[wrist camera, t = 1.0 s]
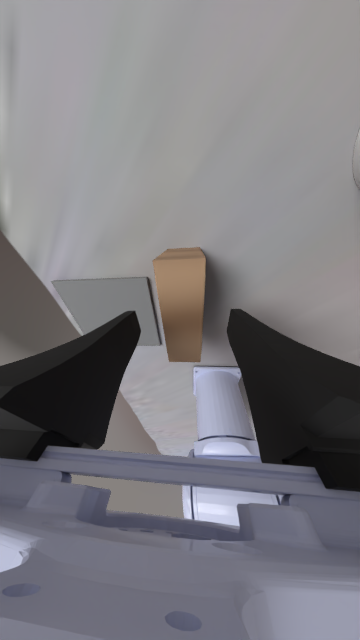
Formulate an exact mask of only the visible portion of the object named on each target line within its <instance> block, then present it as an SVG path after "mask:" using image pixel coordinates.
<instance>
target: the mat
mask: <svg viewBox="0 0 360 640" xmlns="http://www.w3.org/2000/svg"><path fill="white" fill-rule="evenodd" d="M51 282H52V284H53V286H54V287H55V289H56V290H57V292H58V294H59V295H60V297H61V298H62V300H63V302H64V303H65V305H66V306H67V308H68V310H69V311H70V313H71V314H72V316H73V317H74V319H75V321H76V322H77V324H78V325H79V327H80V329H81V330H82V332H83V333H84V335H85V334H87V333H89V332H91V331H93V330H95V329H96V328H98V327H100V326H102V325H104V324H105V323H107V322H109V321H110V320H112V319H114V318H115V317H117V316H119V315H120V314H122V313H124V312H126V311H136V315H137V318H138V321H139V325H140V328H141V334H140V338H139V341H138V344H137V346H160V339H159V334H158V329H157V324H156V318H155V313H154V308H153V303H152V298H151V293H150V288H149V283H148V278H147V277H132V278H107V279H81V280H55V281H51Z"/></svg>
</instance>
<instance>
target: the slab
mask: <svg viewBox="0 0 360 640" xmlns="http://www.w3.org/2000/svg"><path fill="white" fill-rule="evenodd" d="M205 264H206V258H205V256H204V254H203V252H202V251H201V249H200V247H196V248H179V249H167V250H166V251H165V252H163V253H162V254H161V255H159V256H158V257H157V258H156V259H154V260H153V266H154V272H155V280H156V286H157V292H158V299H159V305H160V311H161V317H162V323H163V329H164V335H165V341H166V347H167V353H168V358H169V362H200V360H201V350H202V331H203V313H204V295H205V277H206V276H205Z"/></svg>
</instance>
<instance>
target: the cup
mask: <svg viewBox="0 0 360 640" xmlns="http://www.w3.org/2000/svg"><path fill="white" fill-rule="evenodd" d="M353 175H354V179H355V182H356V184H357V186H358V188H359V189H360V129H359V132H358V136H357V139H356V143H355V148H354V154H353Z"/></svg>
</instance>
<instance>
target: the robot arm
mask: <svg viewBox="0 0 360 640" xmlns="http://www.w3.org/2000/svg"><path fill="white" fill-rule="evenodd" d="M140 334H141V328H140V325H139V321H138V318H137V315H136V311H126V312H124V313H122V314H120V315H119V316H117V317H115V318H114V319H112V320H110V321H109V322H107V323H105V324H104V325H102V326H100V327H98V328H96V329H95V330H93V331H91V332H89V333H87V334H85V335H83V336H81V337H79V338H77V339H75V340H73V341H70V342H68V343H65V344H63V345H61V346H58V347H56V348H53V349H51V350H48V351H45V352H43V353H40V354H37V355H35V356H31V357H28V358H25V359H22V360H19V361H16V362H13V363H9V364H6V365H3V366H0V640H360V367H359V366H357V365H354V364H351V363H348V362H345V361H343V360H340V359H337V358H335V357H332V356H329V355H327V354H324V353H322V352H319V351H317V350H314V349H312V348H310V347H307V346H305V345H303V344H301V343H298V342H296V341H294V340H292V339H290V338H288V337H286V336H284V335H282V334H280V333H279V332H277V331H275V330H273V329H271V328H270V327H268V326H266V325H265V324H263V323H261V322H260V321H258V320H257V319H255V318H254V317H252V316H251V315H249V314H248V313H246V312H244V311H243V310H241V309H231V312H230V317H229V322H228V327H227V334H228V339H229V343H230V345H231V348H232V351H233V353H234V356H235V358H236V361H237V363H238V366H239V367H199V366H196V367H194V385H193V395H194V396H196V402H197V430H198V441H194V449H192V450H191V451H190V452H189V455H188V457H181V456H169V455H157V454H156V455H155V454H145V453H144V454H143V453H132V452H120V451H108V450H97V449H99V448H100V447H101V446H102V445H103V444H104V442H105V438H106V433H107V429H108V425H109V421H110V417H111V414H112V410H113V406H114V403H115V399H116V396H117V393H118V390H119V387H120V384H121V381H122V378H123V375H124V372H125V370H126V367H127V365H128V363H129V361H130V359H131V357H132V354H133V352H134V350H135V348H136V346H137V344H138V341H139V338H140ZM241 375H242V378H243V381H244V385H245V389H246V393H247V397H248V401H249V405H250V409H251V414H252V418H253V423H254V427H255V432H256V437H257V441H256V440H255V437H254V434H253V431H252V428H251V424H250V421H249V418H248V415H247V412H246V408H245V405H244V402H243V399H242V396H241V392H240V389H239V386H238V383H239V380H240V378H241ZM70 474H74V475H84V476H95V477H104V478H115V479H125V480H134V481H144V482H155V483H164V484H175V485H183V511H184V518H178V517H170V516H160V515H152V514H143V513H132V512H123V511H113V510H106V508H107V504H108V501H109V497H110V494H111V491H110V490H108V489H102V488H96V487H91V486H87V485H79V484H72V483H71V478H72V477H71V475H70Z"/></svg>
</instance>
